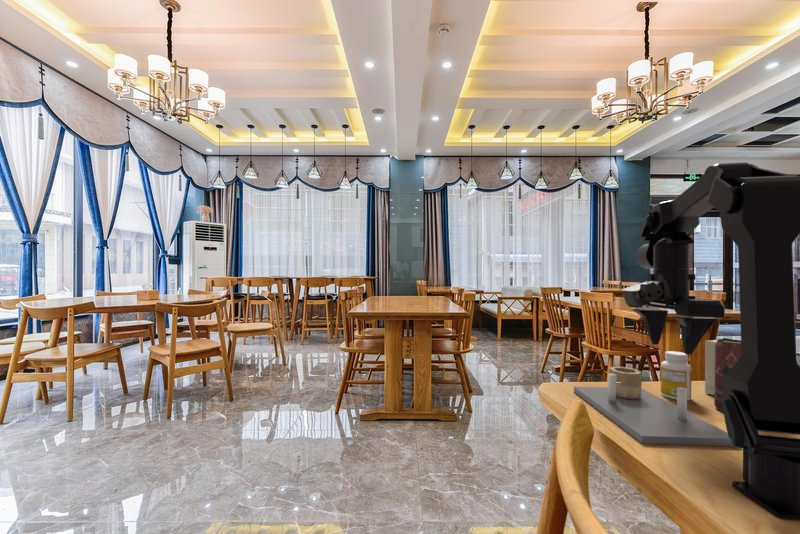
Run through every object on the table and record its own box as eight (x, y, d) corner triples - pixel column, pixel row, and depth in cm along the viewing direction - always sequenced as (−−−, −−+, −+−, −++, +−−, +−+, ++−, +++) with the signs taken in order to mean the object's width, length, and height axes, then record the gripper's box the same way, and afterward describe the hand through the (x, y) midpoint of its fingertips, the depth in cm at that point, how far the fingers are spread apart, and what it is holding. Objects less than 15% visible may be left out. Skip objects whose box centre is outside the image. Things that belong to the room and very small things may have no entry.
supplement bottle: (673, 392, 84) (673, 349, 85) (697, 400, 79) (697, 355, 79) (654, 393, 83) (655, 350, 83) (678, 402, 78) (678, 356, 78)
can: (766, 419, 69) (766, 344, 69) (727, 415, 71) (727, 342, 71) (743, 407, 75) (743, 339, 75) (707, 404, 77) (708, 337, 77)
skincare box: (725, 399, 80) (725, 343, 80) (703, 393, 84) (703, 340, 84) (745, 397, 81) (746, 342, 81) (723, 391, 86) (723, 339, 86)
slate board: (739, 446, 58) (739, 404, 58) (641, 443, 59) (642, 401, 59) (641, 393, 83) (641, 364, 83) (573, 391, 84) (574, 362, 84)
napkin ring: (646, 398, 75) (646, 374, 75) (618, 397, 75) (619, 373, 76) (630, 389, 81) (630, 367, 81) (604, 389, 81) (605, 366, 81)
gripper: (604, 268, 81) (603, 339, 81) (660, 267, 63) (659, 359, 63) (655, 269, 81) (655, 340, 81) (728, 268, 62) (727, 361, 62)
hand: (670, 348), depth 72 cm, fingers open, 9 cm apart
